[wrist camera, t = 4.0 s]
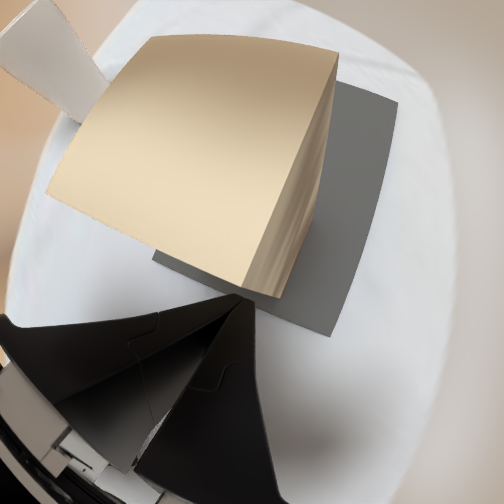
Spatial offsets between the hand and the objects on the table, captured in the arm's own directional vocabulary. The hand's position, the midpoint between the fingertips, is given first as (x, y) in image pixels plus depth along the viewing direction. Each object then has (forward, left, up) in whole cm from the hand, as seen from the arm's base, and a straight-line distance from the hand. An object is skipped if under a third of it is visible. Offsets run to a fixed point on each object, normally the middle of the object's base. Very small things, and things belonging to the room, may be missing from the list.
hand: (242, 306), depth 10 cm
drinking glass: (-9, +24, -7) cm, 27 cm away
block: (+1, +3, -6) cm, 7 cm away
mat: (+5, +7, -6) cm, 11 cm away
